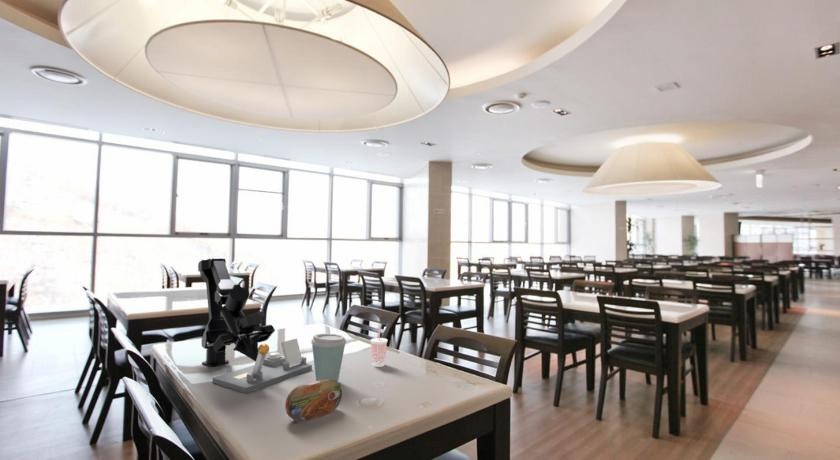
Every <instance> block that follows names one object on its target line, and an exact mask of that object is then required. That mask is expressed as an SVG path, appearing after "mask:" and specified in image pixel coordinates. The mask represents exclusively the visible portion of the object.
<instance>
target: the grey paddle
mask: <svg viewBox="0 0 840 460" xmlns="http://www.w3.org/2000/svg"><path fill="white" fill-rule="evenodd" d="M280 344H281V348H282V349H281V350H282V352H283V353H282V354H283V357H284V358H285V362H287V363H289V365H292V364H295V363H298V362H301V361H302V357H303V356H302V354H301V350H300V345H299V341H298V338H293V339H289V340H286V341H282V342H281V343H280Z"/></svg>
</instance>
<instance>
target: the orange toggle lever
mask: <svg viewBox="0 0 840 460" xmlns="http://www.w3.org/2000/svg"><path fill="white" fill-rule="evenodd" d="M269 352H270V345H268V344H267V343H263V344H260V345H258V356H257V359H256V361H254V363H255V364H254V365H255V366H254V369H253V372H252V374H254V379H256V378H259V375H260V372H261V369H262V366H263V363H264V359H265V358H266V357H267V354H269Z"/></svg>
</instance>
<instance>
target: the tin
mask: <svg viewBox="0 0 840 460" xmlns="http://www.w3.org/2000/svg"><path fill="white" fill-rule="evenodd" d="M342 396H343V390H342V387H341V385H340V383H339V382H336V381H334V380H330V379H323V380H320V381H316V380H315V381H312V382H310V383H309V382H308V383H306V384H302V385H299V386H296V387H295V388H293V389H292V390H291V391H290V392H289V394H288V395H287V397H286V400H285V407H284V408H285V412H286V415H287V416H288V417H289V418H290V419H291V420H293V421H294V422H296V423H304V422H307V421H311V420H314V419H316V418H319V417H322V416H325V415H328V414H330V413H333V412H334V411H335V410H336V409H337V408H338V407H339V405H340V403H341V400H342Z"/></svg>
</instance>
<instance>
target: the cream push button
mask: <svg viewBox="0 0 840 460" xmlns="http://www.w3.org/2000/svg"><path fill="white" fill-rule="evenodd" d="M280 356H281V353H280V352H270V353H268V357H269V360H272V361H274V360H278V359H280Z"/></svg>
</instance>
